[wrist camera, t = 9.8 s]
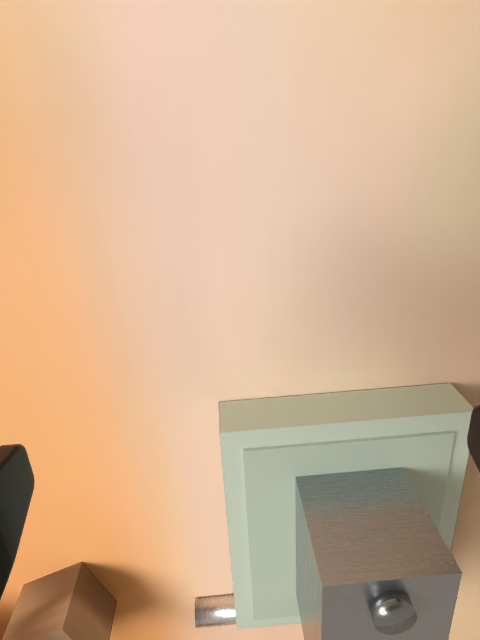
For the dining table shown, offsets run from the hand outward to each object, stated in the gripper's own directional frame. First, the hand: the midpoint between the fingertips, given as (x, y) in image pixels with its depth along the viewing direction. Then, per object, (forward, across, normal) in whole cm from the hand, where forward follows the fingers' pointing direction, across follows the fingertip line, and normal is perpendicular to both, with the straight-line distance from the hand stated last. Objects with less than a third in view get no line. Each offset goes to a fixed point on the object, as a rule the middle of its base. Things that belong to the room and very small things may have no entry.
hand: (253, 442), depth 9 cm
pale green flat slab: (+12, -5, +14) cm, 19 cm away
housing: (+9, -5, +14) cm, 18 cm away
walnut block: (+12, +11, +20) cm, 26 cm away
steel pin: (+11, 0, +23) cm, 26 cm away
